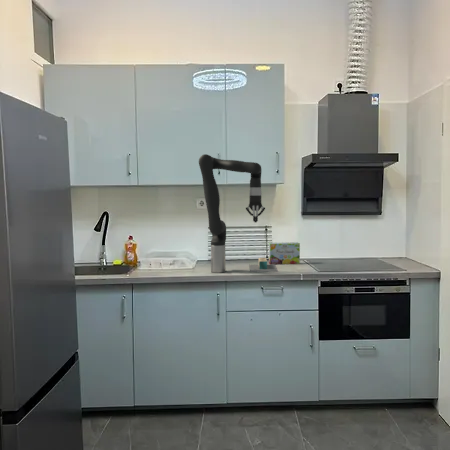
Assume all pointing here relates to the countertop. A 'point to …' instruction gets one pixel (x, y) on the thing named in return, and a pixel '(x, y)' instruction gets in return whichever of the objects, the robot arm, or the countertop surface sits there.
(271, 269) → the charcoal mat
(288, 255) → the snack box
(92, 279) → the countertop surface
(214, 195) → the robot arm
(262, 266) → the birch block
